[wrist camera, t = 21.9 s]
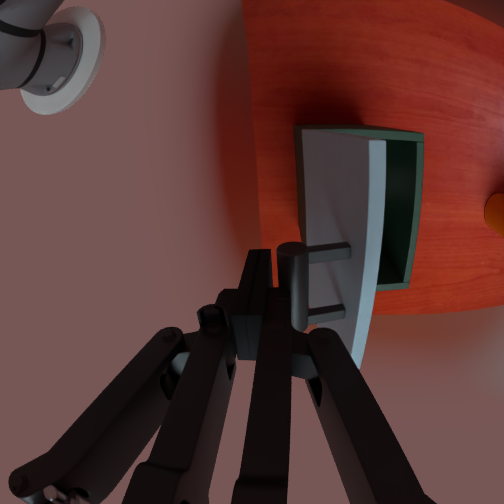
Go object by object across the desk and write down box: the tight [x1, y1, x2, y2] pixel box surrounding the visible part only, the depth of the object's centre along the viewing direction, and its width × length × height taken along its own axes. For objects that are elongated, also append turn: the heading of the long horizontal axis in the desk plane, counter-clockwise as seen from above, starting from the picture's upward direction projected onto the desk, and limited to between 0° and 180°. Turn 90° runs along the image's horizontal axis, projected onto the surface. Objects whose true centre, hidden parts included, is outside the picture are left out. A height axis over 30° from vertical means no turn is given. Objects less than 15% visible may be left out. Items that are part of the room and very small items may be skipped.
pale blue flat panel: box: [277, 129, 386, 370], centre depth 19 cm, size 12×16×5 cm
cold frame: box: [293, 124, 424, 291], centre depth 32 cm, size 11×16×19 cm
